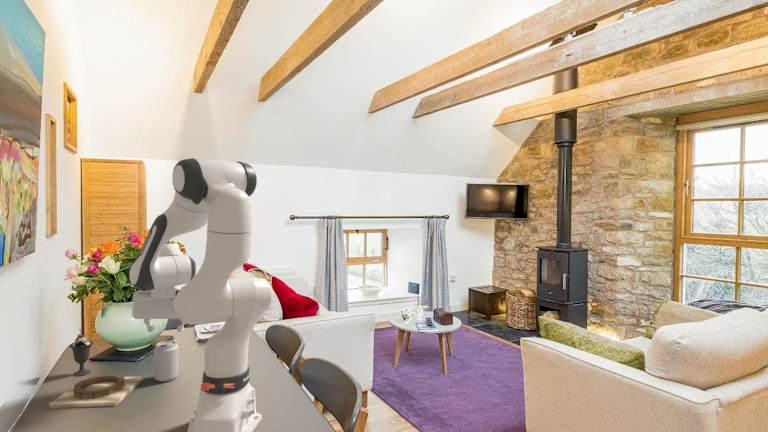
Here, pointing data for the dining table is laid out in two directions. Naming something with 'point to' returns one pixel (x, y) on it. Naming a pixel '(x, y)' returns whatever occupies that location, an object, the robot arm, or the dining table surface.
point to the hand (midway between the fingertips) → (165, 331)
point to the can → (166, 361)
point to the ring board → (98, 401)
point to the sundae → (81, 353)
